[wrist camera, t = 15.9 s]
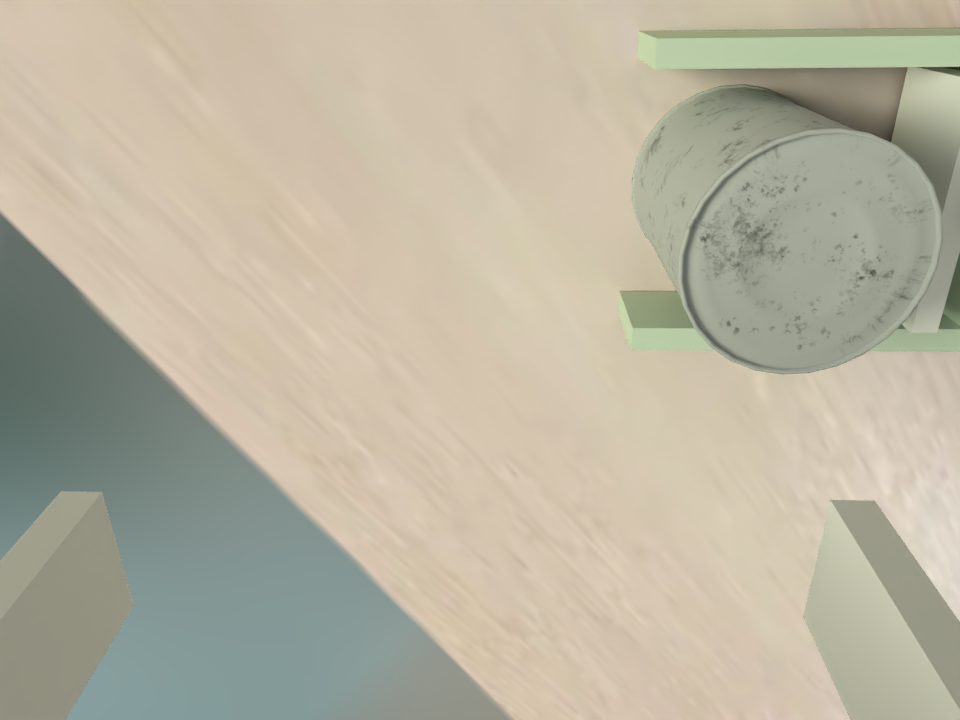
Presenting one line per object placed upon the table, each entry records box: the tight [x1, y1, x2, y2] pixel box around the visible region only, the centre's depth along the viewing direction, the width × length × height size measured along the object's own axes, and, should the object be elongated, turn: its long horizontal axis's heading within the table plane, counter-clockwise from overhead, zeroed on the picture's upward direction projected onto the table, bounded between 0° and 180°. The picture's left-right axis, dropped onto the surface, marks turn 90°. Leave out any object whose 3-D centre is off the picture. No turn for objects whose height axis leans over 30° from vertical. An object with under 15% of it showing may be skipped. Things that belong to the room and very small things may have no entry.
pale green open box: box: [618, 28, 960, 352], centre depth 37 cm, size 17×14×5 cm
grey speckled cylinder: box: [632, 85, 943, 374], centre depth 34 cm, size 10×10×12 cm
